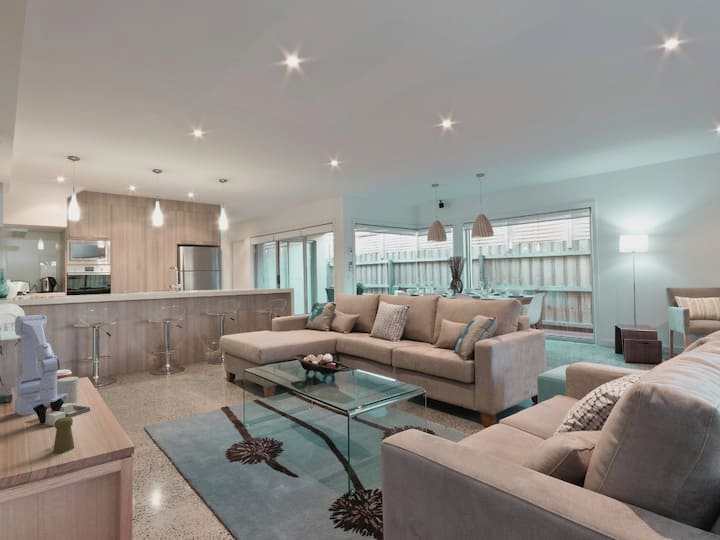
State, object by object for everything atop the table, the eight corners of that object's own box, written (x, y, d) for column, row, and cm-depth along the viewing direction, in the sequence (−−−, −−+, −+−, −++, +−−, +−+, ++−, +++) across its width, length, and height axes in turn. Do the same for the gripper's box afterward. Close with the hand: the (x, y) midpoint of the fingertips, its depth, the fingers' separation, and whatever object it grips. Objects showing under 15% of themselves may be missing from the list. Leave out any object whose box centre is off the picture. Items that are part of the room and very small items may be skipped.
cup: (67, 407, 184) (67, 381, 184) (52, 406, 185) (52, 380, 185) (82, 402, 192) (82, 377, 192) (68, 401, 193) (68, 376, 193)
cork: (60, 445, 143) (60, 415, 143) (78, 445, 144) (78, 414, 144) (48, 453, 137) (48, 421, 137) (67, 452, 138) (67, 421, 138)
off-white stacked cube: (39, 423, 161) (39, 413, 161) (50, 419, 165) (50, 410, 165) (46, 424, 160) (46, 414, 160) (57, 420, 164) (57, 411, 164)
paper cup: (50, 402, 191) (50, 373, 191) (54, 398, 197) (54, 370, 197) (70, 400, 194) (70, 371, 194) (73, 396, 201) (73, 368, 201)
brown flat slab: (23, 425, 162) (23, 422, 162) (42, 419, 169) (42, 416, 169) (51, 431, 157) (51, 427, 157) (69, 424, 163) (69, 421, 163)
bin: (47, 418, 171) (47, 411, 171) (69, 410, 179) (69, 404, 179) (68, 421, 166) (68, 414, 166) (90, 414, 175) (90, 407, 175)
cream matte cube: (57, 415, 172) (57, 406, 172) (66, 412, 176) (66, 403, 176) (64, 416, 171) (64, 406, 171) (73, 413, 175) (73, 403, 175)
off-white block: (48, 424, 159) (48, 414, 159) (58, 421, 163) (58, 411, 163) (55, 425, 158) (55, 415, 158) (65, 422, 162) (65, 412, 162)
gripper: (35, 393, 154) (35, 428, 154) (73, 383, 168) (73, 415, 168) (23, 392, 157) (23, 426, 156) (61, 382, 170) (61, 414, 170)
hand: (48, 420), depth 162 cm, fingers closed on off-white stacked cube, 4 cm apart
